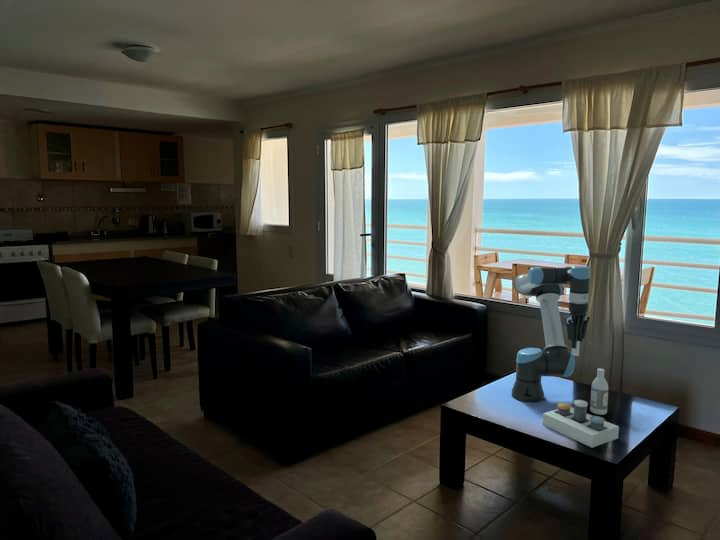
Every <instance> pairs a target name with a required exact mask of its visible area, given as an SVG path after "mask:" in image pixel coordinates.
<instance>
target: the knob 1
mask: <svg viewBox="0 0 720 540" xmlns="http://www.w3.org/2000/svg"><path fill="white" fill-rule="evenodd" d="M571 407H572V406H571V404H570V403H567V402H557V409H558V414H559V415H562V416H564V417H566V416H569V415H570V408H571Z"/></svg>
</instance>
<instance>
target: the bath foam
mask: <svg viewBox="0 0 720 540" xmlns="http://www.w3.org/2000/svg"><path fill="white" fill-rule="evenodd" d="M596 370H597V371H596V377H595V378H594V379H593V381H592V383H591V387H590V389H591V391H590V405H589V411H590V412H591V413H593V414H595V415H606V414H607V413H608V406H609V405H608V403H609V384H608V381H607V380H606V378H605V372H606V371H605V369H604V368H603V367H602V368H599V367H598V368H597V369H596Z"/></svg>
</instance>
